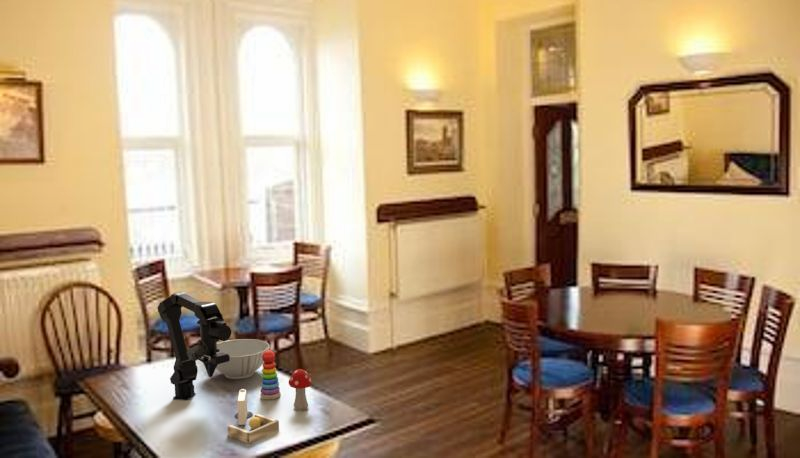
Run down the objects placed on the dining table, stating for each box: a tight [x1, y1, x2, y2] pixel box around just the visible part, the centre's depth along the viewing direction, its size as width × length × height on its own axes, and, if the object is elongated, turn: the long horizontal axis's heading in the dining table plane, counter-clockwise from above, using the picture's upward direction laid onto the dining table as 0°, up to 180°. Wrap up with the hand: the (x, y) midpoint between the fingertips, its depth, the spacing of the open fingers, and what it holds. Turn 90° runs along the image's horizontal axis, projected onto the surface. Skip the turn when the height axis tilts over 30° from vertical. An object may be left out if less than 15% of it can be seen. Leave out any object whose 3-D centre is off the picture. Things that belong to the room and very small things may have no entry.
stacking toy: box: [259, 349, 281, 401], centre depth 268 cm, size 8×8×19 cm
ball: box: [248, 416, 261, 430], centre depth 238 cm, size 4×4×4 cm
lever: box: [237, 388, 248, 426], centre depth 245 cm, size 2×11×9 cm, turn 10°
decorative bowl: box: [215, 338, 271, 380], centre depth 296 cm, size 27×27×12 cm
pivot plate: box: [234, 410, 253, 419], centre depth 250 cm, size 6×6×1 cm
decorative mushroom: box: [288, 368, 313, 412], centre depth 256 cm, size 10×9×15 cm
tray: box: [227, 413, 280, 444], centre depth 235 cm, size 11×13×4 cm
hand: (210, 376), depth 258 cm, fingers closed
